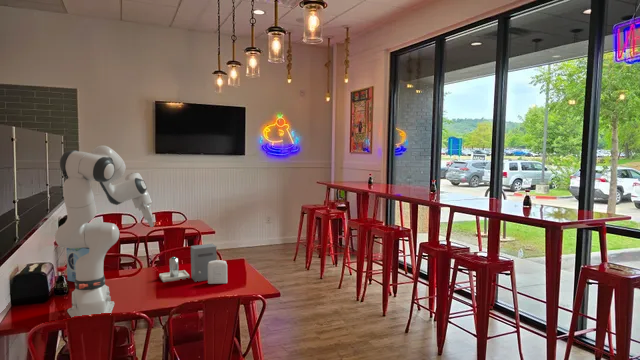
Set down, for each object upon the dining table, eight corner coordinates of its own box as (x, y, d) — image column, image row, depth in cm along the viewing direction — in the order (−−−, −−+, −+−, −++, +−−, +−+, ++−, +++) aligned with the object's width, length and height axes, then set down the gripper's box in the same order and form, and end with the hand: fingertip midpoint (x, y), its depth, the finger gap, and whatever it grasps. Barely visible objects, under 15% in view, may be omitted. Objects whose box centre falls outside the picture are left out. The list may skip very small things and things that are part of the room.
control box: (217, 278, 239) (216, 246, 237) (195, 282, 233) (194, 249, 231) (212, 274, 246) (212, 243, 245) (191, 277, 240) (190, 245, 239)
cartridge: (179, 276, 240) (178, 257, 239) (170, 278, 238) (170, 258, 237) (177, 274, 244) (177, 255, 243) (169, 275, 242) (168, 256, 241)
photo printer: (227, 281, 234) (227, 258, 233) (227, 283, 230) (226, 261, 229) (208, 282, 232) (207, 259, 231) (207, 284, 228) (206, 261, 227)
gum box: (67, 281, 236) (65, 239, 234) (75, 278, 240) (73, 237, 238) (92, 285, 228) (90, 242, 226) (100, 282, 232) (98, 240, 231)
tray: (189, 278, 239) (189, 275, 239) (163, 282, 232) (163, 279, 232) (184, 272, 250) (184, 270, 250) (159, 276, 243) (159, 273, 243)
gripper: (148, 199, 221) (158, 224, 222) (149, 201, 240) (158, 224, 241) (135, 204, 219) (145, 229, 220) (137, 205, 238) (147, 228, 239)
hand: (152, 226), depth 230 cm, fingers open, 8 cm apart
